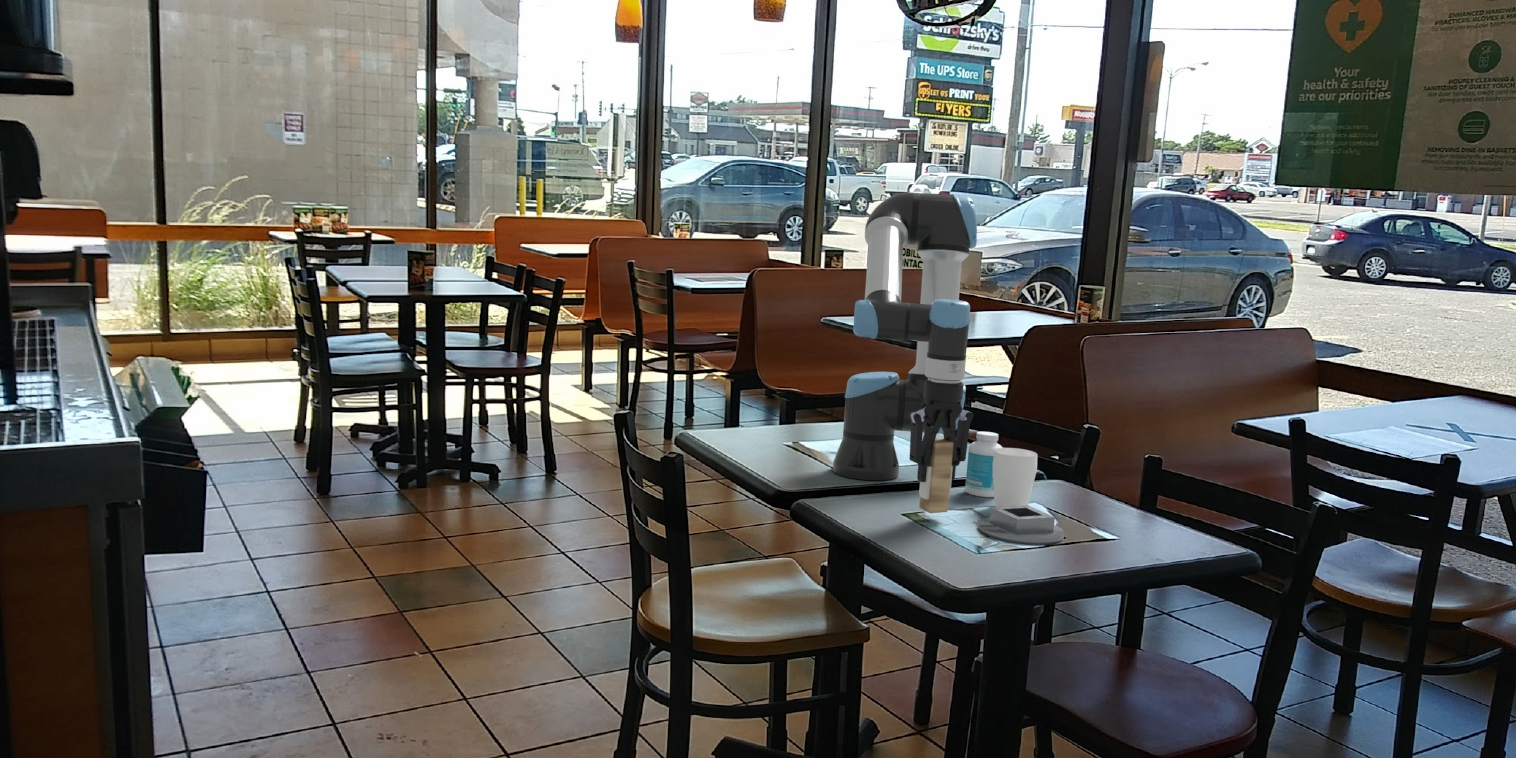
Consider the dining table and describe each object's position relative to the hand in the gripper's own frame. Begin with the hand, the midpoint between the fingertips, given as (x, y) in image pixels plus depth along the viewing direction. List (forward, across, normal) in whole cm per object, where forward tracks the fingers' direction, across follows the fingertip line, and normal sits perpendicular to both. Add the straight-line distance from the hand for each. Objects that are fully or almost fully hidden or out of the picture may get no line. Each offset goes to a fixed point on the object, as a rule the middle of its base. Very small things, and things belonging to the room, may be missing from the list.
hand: (934, 496), depth 224 cm
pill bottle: (+5, +23, +16) cm, 29 cm away
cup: (+5, +22, +4) cm, 23 cm away
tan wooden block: (+3, 0, 0) cm, 3 cm away
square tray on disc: (+5, +13, -12) cm, 18 cm away
